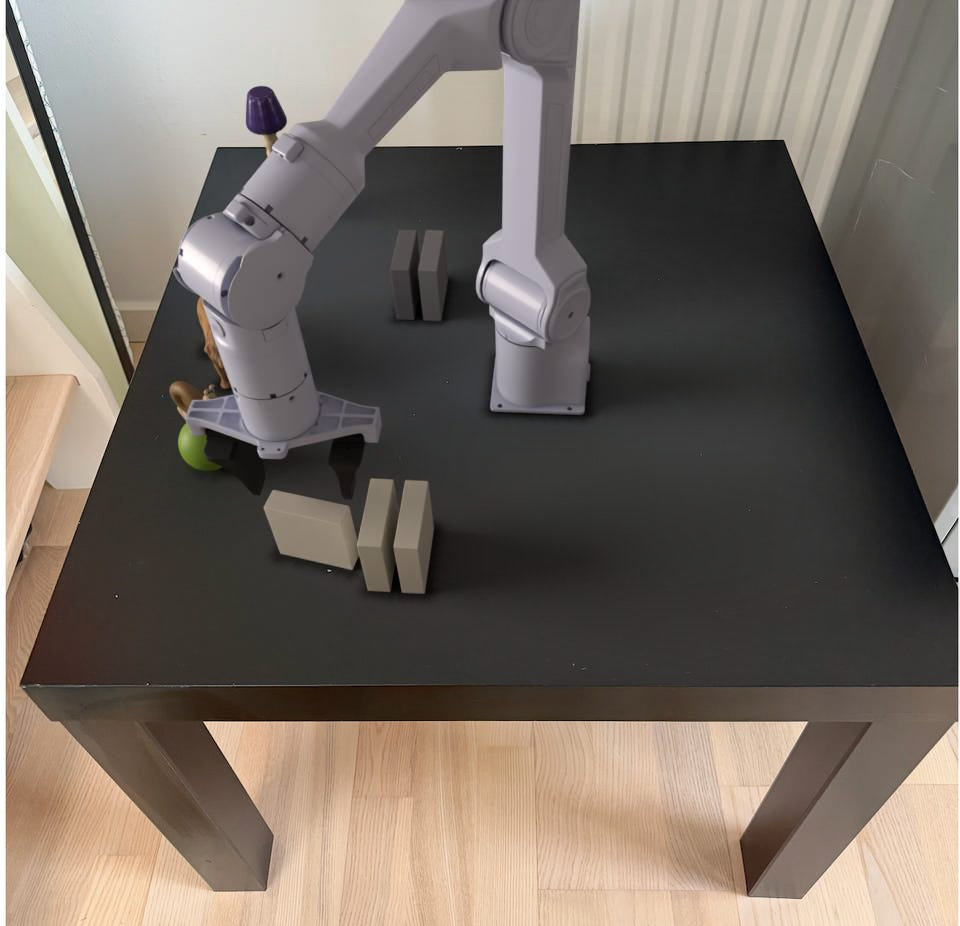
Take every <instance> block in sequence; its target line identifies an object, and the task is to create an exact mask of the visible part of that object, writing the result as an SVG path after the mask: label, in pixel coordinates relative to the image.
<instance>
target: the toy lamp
mask: <svg viewBox="0 0 960 926" xmlns="http://www.w3.org/2000/svg"><path fill="white" fill-rule="evenodd" d="M245 102H246V103H245V126H246V128H247V130H248V131H249V132H251V133H252V134H253V135H258V136H262V137H263V144H264V147H265V149H266V158H268V156H269V155H270V154H271V153H272V151H273V150H272V146H273V145H274V144H275V142H276V141H277V140H278V139H279V138H278V137H279V136H277V133H279V132H280V131H282V130H284V129H285V127H286V126H287V124H288V123H287V122H288V119H287V115H286V114H285V111H284V109H283V107H282V105H281V103H280V101H279V99H278V97H277V95H276V93H275V91H274V90H273V88H272V87H270V86H266V85H257V86H254V87H252V88H250V89H249V90H248V91H247V94H246V101H245Z"/></svg>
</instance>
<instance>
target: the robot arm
mask: <svg viewBox="0 0 960 926" xmlns="http://www.w3.org/2000/svg"><path fill="white" fill-rule="evenodd" d="M580 11H581V0H403V3H402V5H401V6H400V8H399V9H398V11H397V12H396V14H395V15H394V17H393V18H392V19H391V21H390V22H389V24H388V25H387V27H386V28H385V29H384V31H383V32H382V33H381V35H380V37H379V38H378V40H377V41H376V43H375V44H374V46H373V47H372V49H371V50H370V51H369V53H368V54H367V56H366V57H365V58H364V60H362V62H361V64H360V66H359V67H358V68H357V69H356V71H355V73H354V74H353V76H352V77H351V78H350V80H349V82H348V83H347V84H346V86H345V88H344V89H343V91H342V92H341V93H340V94H339V96H338V98H337V99H336V101H335V102H334V103H333V105H332V106H331V108H330V109H329V110H328V111H327V113H326V115H325V116H324V117H323V119H321V120H314V121H304V122H298V123H295V124H293V125H292V126H291V128H290V129H289V130H288V131H287V133H286V132H284V133H282V134H281V135H280V136H278V137H279V138H278V140H277V141H276V142H275V144H274V145H273V146H272V150H273V151H272V153H271V154H270V155H269V156H268V157H266V159H265V160H264V161H263V162H262V163H261V165H259V167H258V168H257V170H256V171H255V172H254V173H253V175H251V177H250V178H249V180H247V182H246V183H245V184H244V186H243V187H242V188H241V189H240V191H238V193H237V194H236V195H235V196H234V198H233V199H232V200H231V201H230V203H229V204H228V205H227V206H226V208H225V209H224V210H223V211H219V212H215V213H212V214H209V215H205V216H203V217H201V218H200V219H197V220H196V221H195V222H194V223H192V224H191V225H190V226H189V227H188V229H187V230H186V231H185V233H184V234H183V236H182V238H181V240H180V243H179V246H178V254H177V255H178V257H177V258H178V259H177V261H178V263H177V266H175V267H174V268H173V271H172V272H173V274H174V276H175V278H176V280H177V281H178V282H179V283H180V285H181V286H183V287H184V288H185V289H186V290H188V291H189V292H191V293H193V294H196V295H198V296H199V297H202V299H203V302H202V303H203V307H204V310H205V312H206V315H207V318H208V321H209V324H210V326H211V329H212V333H213V337H214V340H215V342H216V345H217V348H218V351H219V354H220V356H221V359H222V362H223V365H224V368H225V371H226V373H227V376H228V379H229V382H230V384H231V390H232V393H233V394H230V395H225V396H219V397H218V398H215V399H208V400H192V402H191V404H190V407H189V409H188V412H187V415H186V417H185V419H184V420H185V423H187V425H188V427H189V429H190V432H191V434H192V435H200V436H202V435H205V434H206V436H207V437H206V440H207V442H206V445H205V448H204V454H205V456H206V458H207V460H208V461H210V462H213V463H215V464H217V465H219V466H221V467H222V469H225V470H226V471H228V472H229V473H230V474H232V475H233V476H234V477H235V478H236V479H237V480H238V481H240V482H241V483H242V484H243V486H245V488H246V489H247V490H248V491H249V492H250V493H251V494H252V495H253V496H261V495H262V492H263V488H264V485H265V480H266V479H267V474H266V469H265V465H264V462H263V460H264V459H266V460H282V459H285V458H286V457H287V456H288V452H289V450H290V449H294V448H298V447H303V446H306V445H311V444H316V443H321V442H324V441H330V440H332V442H331V446H330V450H329V455H328V460H327V463H328V465H329V466H330V467H331V469H332V470H333V472H334V473H335V475H336V477H337V480H338V483H339V490H340V495H341V497H342V498H343V500H353V499H354V494H355V489H356V484H357V471H358V469H359V468H360V466H361V464H362V461H363V458H364V455H365V454H364V453H365V448H366V443H370V444H371V443H372V444H375V443H376V444H378V443H379V441H380V437H381V431H382V427H383V422H382V416H381V410H380V407H379V406H369V405H363V404H359V403H356V402H352V401H349V400H347V399H343V398H340V397H339V396H338V397H337V396H334V395H331V394H328V393H326V392H322V391H319V390H317V389H316V385H315V382H314V378H313V373H312V369H311V366H310V361H309V358H308V353H307V350H306V347H305V342H304V338H303V334H302V330H301V327H300V322H299V318H298V314H297V311H296V307H297V306H298V304H299V302H300V301H301V298H302V296H303V293H304V290H305V285H306V279H307V275H308V272H309V270H310V269H311V267H312V266H313V265H314V264H313V261H314V259H315V256H314V255H313V254H312V253H313V252H314V251H315V249H317V247H318V246H319V244H321V242H322V241H323V239H324V238H325V237H326V236H327V234H328V233H330V231H331V229H332V228H333V227H334V226H335V225H336V223H338V221H339V220H340V218H341V217H342V216H344V215H343V214H344V213H345V212H346V211H347V210H348V208H349V207H350V206H351V205H352V204H353V203H354V201H355V200H356V199H357V197H358V196H360V194H361V192H362V191H363V190H364V188H365V187H366V172H365V171H366V169H365V168H366V167H365V164H366V163H365V161H366V157H367V156H368V154H369V153H371V152H372V151H373V150H374V148H375V147H376V146H377V145H378V144H379V143H380V142H381V141H382V140H383V139H384V138H385V137H386V135H388V133H390V131H391V130H392V129H394V127H395V126H396V125H397V124H398V123H399V122H400V120H402V118H404V116H405V115H406V114H407V113H408V112H409V111H410V110H411V109H412V108H413V107H414V106H415V105H416V104H417V103H418V102H419V101H420V100H421V98H422V97H423V96H424V95H425V94H426V93H427V92H428V91H429V90H430V89H431V88H432V87H433V86H434V85H435V84H436V83H437V82H438V80H440V78H441V77H442V76H443V75H444V74H447V73H449V72H478V71H479V72H480V71H483V72H484V71H499V70H501V69H502V68H503V117H502V119H503V121H502V122H503V127H502V128H503V130H502V131H503V132H502V136H503V137H502V207H501V208H502V211H501V213H502V214H501V215H502V217H501V218H502V219H501V223H502V224H501V228H500V229H499V230H497V231H496V232H494V233H493V234H492V235H491V236H490V237H488V238H487V240H486V241H485V242H484V243H483V244H482V258H481V263H480V266H479V267H478V271H477V274H476V279H475V290H476V294H477V297H478V298H479V299H480V300H481V301H482V302H483V303H485V304H488V306H489V309H488V311H489V315H490V316H491V317H492V318H493V320H494V331H495V332H494V333H495V336H494V337H495V357H494V368H493V375H492V376H493V377H492V384H491V385H492V386H491V395H490V404H489V408H490V411H491V412H495V413H496V412H498V413H522V414H544V415H546V414H547V415H571V416H573V415H574V416H582V415H584V413H585V411H586V397H587V396H586V395H587V383H588V382H590V378H591V377H590V376H591V363H590V362H589V357H590V337H591V335H590V334H591V317H590V316H588V314H589V310H590V307H591V303H592V302H591V301H592V299H591V296H592V293H591V292H592V291H591V288H590V285H589V283H588V280H587V273H588V265H587V263H586V262H585V260H584V258H583V257H582V256H581V254H579V252H578V251H577V249H576V248H575V247H574V245H573V243H571V241H570V240H569V239H568V237H567V235H566V233H565V225H566V212H567V211H566V210H567V195H568V184H569V183H568V182H569V168H570V156H571V140H572V126H573V112H574V102H575V101H574V99H575V85H576V74H577V73H576V72H577V71H576V70H577V58H578V44H579V24H580Z"/></svg>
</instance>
